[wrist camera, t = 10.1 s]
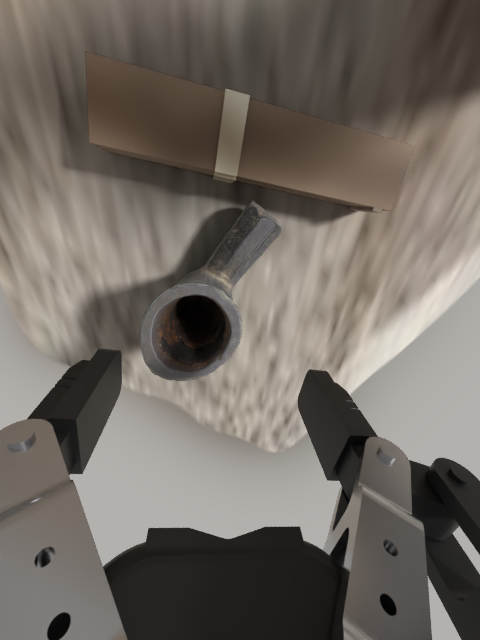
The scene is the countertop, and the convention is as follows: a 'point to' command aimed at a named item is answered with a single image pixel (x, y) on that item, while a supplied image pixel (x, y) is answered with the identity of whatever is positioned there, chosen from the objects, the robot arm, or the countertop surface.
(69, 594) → the robot arm
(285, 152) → the banded brown beam
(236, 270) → the pipe
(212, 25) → the countertop surface
